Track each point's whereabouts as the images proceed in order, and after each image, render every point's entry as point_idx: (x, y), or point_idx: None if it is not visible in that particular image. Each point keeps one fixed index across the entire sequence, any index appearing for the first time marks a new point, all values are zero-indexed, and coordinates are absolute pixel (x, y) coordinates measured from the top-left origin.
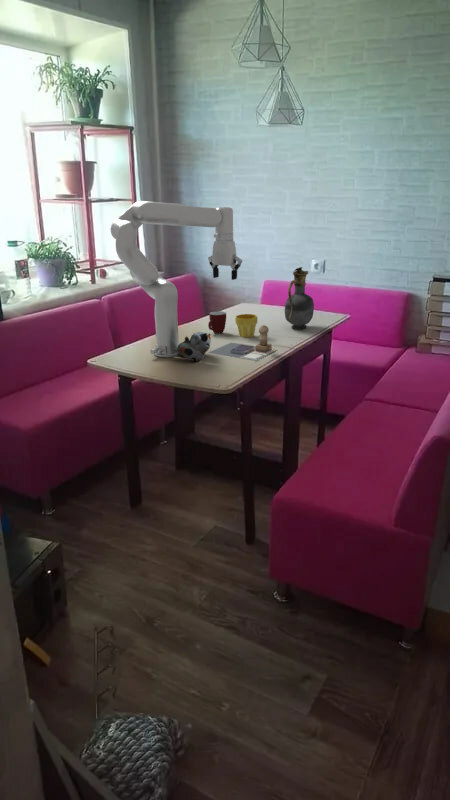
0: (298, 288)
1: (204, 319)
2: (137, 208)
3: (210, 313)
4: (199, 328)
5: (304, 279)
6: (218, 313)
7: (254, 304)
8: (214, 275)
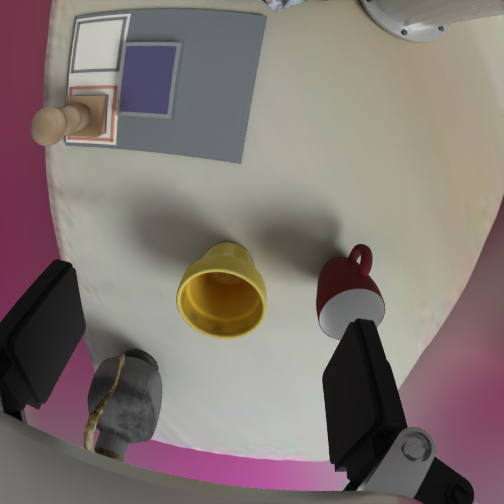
0: (103, 443)
1: (410, 370)
2: None
3: (382, 312)
4: (410, 300)
5: None
6: None
7: (321, 460)
8: (361, 340)
